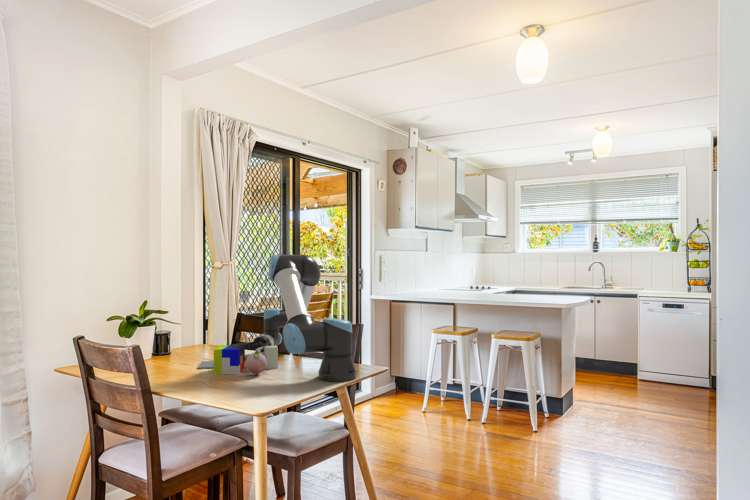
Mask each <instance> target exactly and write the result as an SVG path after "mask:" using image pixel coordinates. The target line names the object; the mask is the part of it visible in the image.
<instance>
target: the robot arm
mask: <svg viewBox="0 0 750 500" xmlns="http://www.w3.org/2000/svg"><path fill="white" fill-rule="evenodd" d="M268 280H269V281H270V282H274V285H276V287H278V289H279V291H280V294H281V295H280V296H281V298H282V302H283V307H284V309H285V311H280V309H279V308H271V307H270V308H266V309H264V311H263V334H262V335H259V336H257V337H254V339H253V341H250V342H249V341H244V342H239V343H233V344H230V345H245V350H247V351H254V352H256V350H257V352H261V354H264V346H275V345H276V346H277V347H278V346H279V345H280V344H281V343H282V341H283V344H284V347H285V349H286V351H288V353H289V354H293V355H297V354H298V355H302V354H313V353H322V359H321V362H320V363H321V364H320V366H319V369H318V376H317V377H318V379H320V380H321V381H325V382H326V381H327V382H346V381H352V380H355V379H356V378H357V369H356V366H355V363H354V360H353V334H354V332H353V324H352V322H351V321H349V320H346V319H341V318H334V317H324V318H323V319H322V321H321V322H316V321H315V318H314V317H313V315H311V314H310V313H309V311H308V308H309V305H310V302H311V299H312V296H313V293H314V290H315V288H316V286H317V285H319V283H320V280H321V269H320V266H319V263H318V262H317V261H316V260H315V259H314V258H313V257H311V256H310V255H307V254H280V253H279V254H273V255H271V256H270V258H269V262H268ZM280 328H282V329H283V330H282V334H281V333H280Z"/></svg>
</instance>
